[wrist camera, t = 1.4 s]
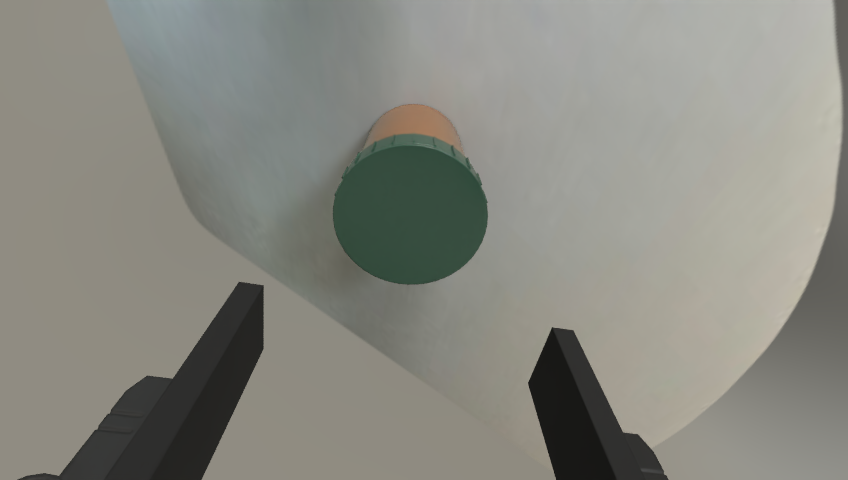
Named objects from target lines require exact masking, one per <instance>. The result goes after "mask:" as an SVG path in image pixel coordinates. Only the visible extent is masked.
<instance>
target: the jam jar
mask: <svg viewBox="0 0 848 480" xmlns="http://www.w3.org/2000/svg"><path fill="white" fill-rule="evenodd" d="M413 133H415V134H422V135H427V136H431V137H434V136H435V137H436V138H437V139H440V140H442V141H444V142H446V143H448V144H450V145H454V148H456V149H457V150H458V151H460V152H461V153H462V154H463V155H464V156H465V154H464V151H463V148H462V145H461V142H460V139H459V136H458V133H457V131H456V129H455V127H454V126H453V124H452V123H451V122H450V121H449V120H448V118H447V117H446V116H444V115H443V114H442V113H440V112H439V111H437V110H435V109H433V108H431V107H428V106H424V105H418V104H408V105H402V106H399V107H396V108H394V109H391V110H390V111H388V112H386V113H385V114H384V115H382V116H381V117H380V118H379V119H378V120H377V121H376V123H375V124H374V126H373V127H372V129H371V131H370V133H369V135H368V138H367V140H366V142H365V145H364V147H363V149H362V151H363V150H364V149H365V148H367V147H368V146H370V145H371V144H373V143H374V141H379V140H381V139H383V138H386V137H390V136H393V134H395V135H399V134H413Z"/></svg>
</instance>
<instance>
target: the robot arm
mask: <svg viewBox="0 0 848 480" xmlns="http://www.w3.org/2000/svg"><path fill="white" fill-rule="evenodd" d="M263 288H264V287H263V285H256V284H250V283H243V282H239V283H238V284H237V286H236V287H235V289H234V290H233V292H232V293H231V295H230V296H229V298H228V299H227V301H226V302H225V304H224V305H223V306H222V308H221V309H220V311H219V312H218V314H217V315H216V317H215V318H214V320H213V321H212V322H211V324H210V325H209V327H208V328H207V330H206V331H205V333H204V334H203V336H202V337H201V338H200V340H199V341H198V343H197V344H196V346H195V347H194V349H193V350H192V352H191V353H190V355H189V356H188V358H187V359H186V360H185V362H184V363H183V365H182V366H181V368H180V369H179V371H178V372H177V374H176V375H175V377H174V378H173V379H170V378H162V377H153V376H146V377H145V378H143V379H142V380H141V381H139V382H138V383H136V384H135V385H134V386H132V387H131V388H129V389H128V390H127V391H126V392H125V393H124V394H123V396H122V397H121V398H120V399H119V401H118V402H117V403H116V404H115V406H114V407H113V408H112V409H111V412H110V414H108V415H107V416H106V417H105V418H104V420H103V421H102V422H101V423H100V425H99V427H98V429H97V430H95V431H94V432H93V434H92V435H91V436H90V437H89V439H88V440H87V441H86V442H85V444H84V445H83V446H82V447H81V449H80V450H79V452H78V453H77V454H76V455H75V456H74V458H73V459H72V460H71V461H70V463H69V464H68V465H67V467H66V468H65V469H64V470H63V472H62V473H61V474H60V476H57V475H51V474H46V473H43V474H36V475H30V476H25V477H23V478H21V479H18V480H201V479H202V477H203V475H204V473H205V471H206V469H207V467H208V465H209V463H210V460H211V458H212V456H213V454H214V452H215V450H216V448H217V446H218V444H219V441H220V439H221V437H222V435H223V433H224V431H225V429H226V427H227V425H228V422H229V420H230V418H231V416H232V414H233V412H234V410H235V408H236V406H237V403H238V401H239V399H240V397H241V395H242V393H243V391H244V389H245V386H246V384H247V382H248V380H249V378H250V376H251V374H252V372H253V370H254V368H255V365H256V363H257V361H258V359H259V357H260V355H261V353H262V351H263ZM528 385H529V388H530V392H531V395H532V399H533V402H534V405H535V409H536V412H537V416H538V419H539V422H540V426H541V429H542V433H543V436H544V439H545V443H546V446H547V450H548V453H549V457H550V460H551V463H552V467H553V470H554V474H555V477H556V480H668V478H667V476H666V475H664V471H663V469H662V467H661V465H660V463H659V461H658V459H657V457H656V456H655V454H654V452H653V451H652V450H651V449H650V447H649V446H648V445H647V444H646V443H645V442H644V441H643V440H642V438H641V437H640V436H639V435H638V434H630V433H623V432H622V429H621V427H620V425H619V423H618V421H617V419H616V417H615V415H614V413H613V411H612V409H611V407H610V405H609V403H608V401H607V399H606V397H605V395H604V392H603V390H602V388H601V386H600V384H599V382H598V380H597V378H596V376H595V374H594V372H593V370H592V368H591V366H590V364H589V362H588V360H587V358H586V355H585V353H584V351H583V349H582V347H581V345H580V343H579V341H578V339H577V337H576V335H575V333H574V331H573V330H567V329H560V328H553V327H552V329H551V331H550V334H549V336H548V338H547V341H546V343H545V345H544V348H543V350H542V352H541V355H540V357H539V359H538V361H537V364H536V366H535V368H534V371H533V373H532V375H531V378H530V380H529V382H528Z"/></svg>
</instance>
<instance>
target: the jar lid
mask: <svg viewBox="0 0 848 480" xmlns="http://www.w3.org/2000/svg"><path fill="white" fill-rule="evenodd" d="M481 185H482V183H481V180H480V177H479V175H478V173H477V174H476V172H475V170H474V168H473V166H472V165H471V164H470V162H469V159H468V158H466V157H465V156H464V155H463V154H462V153H461V152H460V151H458V150H457V149H456V148H454V145H450V144H448V143H446V142H444V141H442V140H440V139H437V138H436V137H435V136H434V137H431V136H427V135H422V134H415V133H413V134H399V135H395V134H393V136H390V137H386V138H383V139H381V140H379V141H374V143H373V144H371V145H370V146H368V147H367V148H365V149H364V150H363V151H362V152H361V153H360V152H359V153H358V154H357V156H356V158H355V159H354V160H353V161H352V163H351V164H350V166H349V167H347V168H346V170H345V172H344V174H343V176H342V182H341V183H340V185H339V187H338V189H337V191H336V193H335V200H334V206H333V221H334V227H335V231H336V234H337V237H338V239H339V242H340V244H341V245H342V247H343V249H344V250H345V252H346V253H347V254H348V256H349V257H350V258H351V259H352V260H353V261H354V262H355V263H356V264H357V265H358V266H359V267H361V268H362V269H363V270H365V271H366V272H368V273H370V274H371V275H373V276H375V277H378V278H380V279H383V280H386V281H389V282H393V283H398V284H424V283H429V282H433V281H437V280H440V279H442V278H445V277H447V276H449V275H451V274H453V273H454V272H456V271H457V270H459V269H460V268H461V267H463V266H464V265H465V264H466V263H467V262H468V261H469V260H470V259H471V258H472V257H473V256H474V254H475V253H476V251H477V250H478V248H479V246H480V245H481V243H482V241H483V238H484V235H485V232H486V227H487V219H488V211H487V199H486V197H485V194H484V191H483V190H482V187H481Z"/></svg>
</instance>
